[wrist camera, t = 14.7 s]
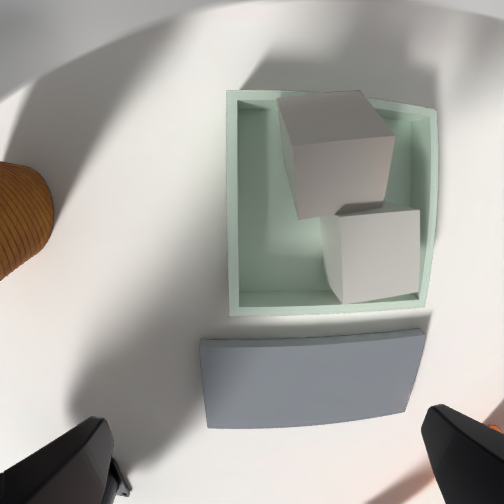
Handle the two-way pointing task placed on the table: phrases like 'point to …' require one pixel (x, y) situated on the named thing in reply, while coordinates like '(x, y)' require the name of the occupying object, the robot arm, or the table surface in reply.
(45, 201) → the disposable coffee cup
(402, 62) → the table surface
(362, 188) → the grey stone cube
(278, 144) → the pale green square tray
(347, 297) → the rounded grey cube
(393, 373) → the slate board
